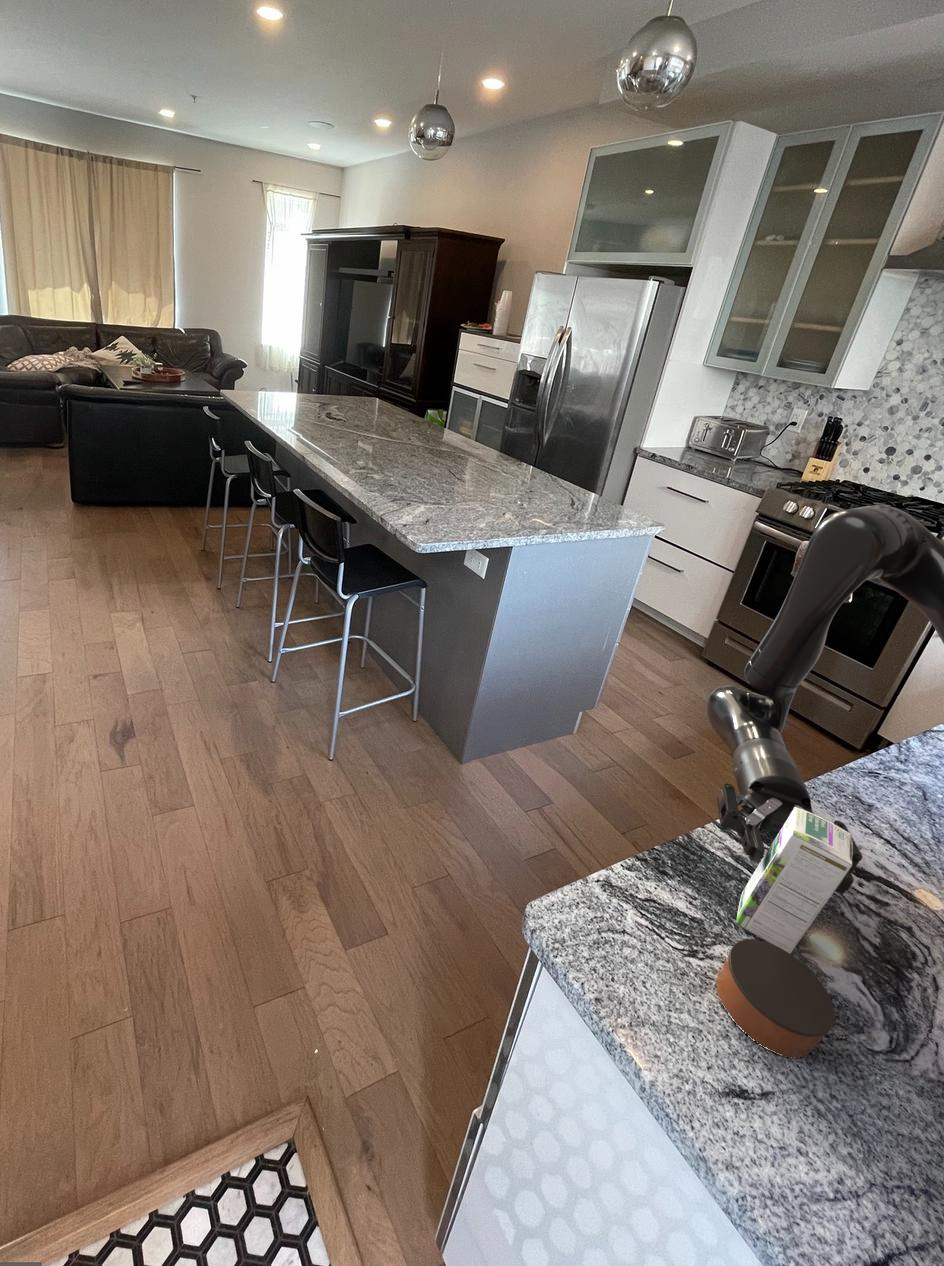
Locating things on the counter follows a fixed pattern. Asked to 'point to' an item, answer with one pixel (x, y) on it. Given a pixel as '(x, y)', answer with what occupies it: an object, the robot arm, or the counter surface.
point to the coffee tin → (775, 998)
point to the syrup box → (795, 879)
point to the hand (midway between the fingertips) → (800, 872)
